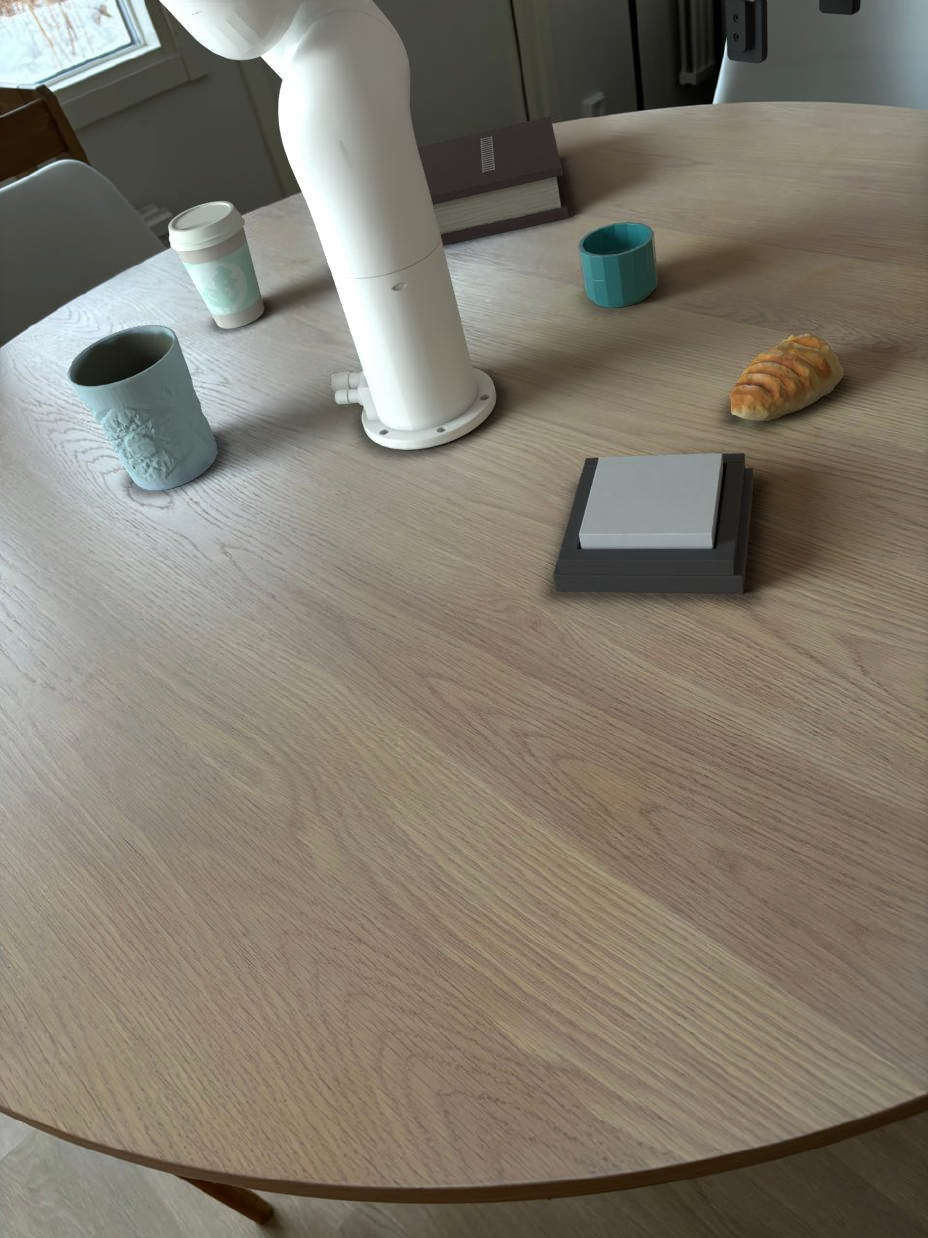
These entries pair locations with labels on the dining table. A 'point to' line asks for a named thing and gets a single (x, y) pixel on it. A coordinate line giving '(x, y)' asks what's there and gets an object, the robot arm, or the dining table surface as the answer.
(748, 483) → the scale
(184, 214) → the coffee cup
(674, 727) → the dining table surface
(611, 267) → the teal faceted cup
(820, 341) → the pastry
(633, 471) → the pan
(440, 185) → the book
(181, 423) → the embossed blue pot
